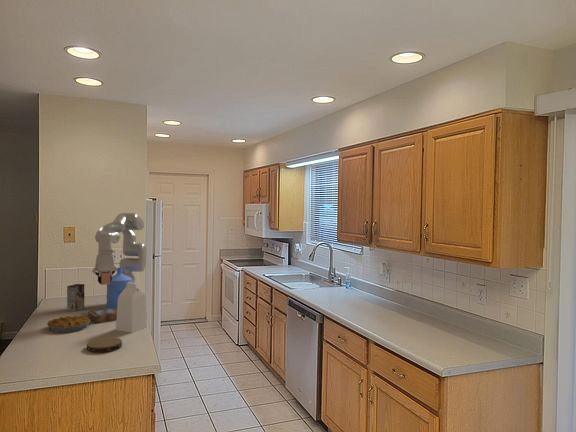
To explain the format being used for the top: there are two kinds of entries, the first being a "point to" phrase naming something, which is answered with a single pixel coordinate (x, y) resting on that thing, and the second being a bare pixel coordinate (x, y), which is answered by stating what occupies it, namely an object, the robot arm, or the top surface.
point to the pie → (68, 323)
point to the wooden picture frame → (103, 315)
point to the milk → (131, 309)
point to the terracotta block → (105, 278)
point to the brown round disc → (104, 345)
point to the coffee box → (75, 297)
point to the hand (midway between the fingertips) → (104, 282)
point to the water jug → (116, 288)
